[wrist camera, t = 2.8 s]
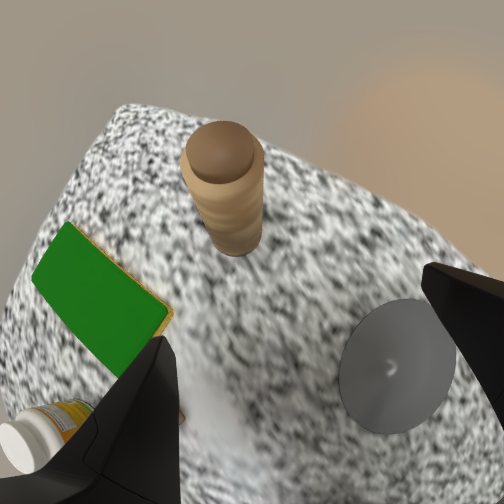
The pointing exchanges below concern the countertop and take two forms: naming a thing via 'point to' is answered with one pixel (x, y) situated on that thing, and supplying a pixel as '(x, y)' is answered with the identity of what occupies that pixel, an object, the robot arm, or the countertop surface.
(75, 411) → the supplement bottle
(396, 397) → the slate coaster
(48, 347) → the countertop surface
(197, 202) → the brown cylinder
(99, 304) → the dish sponge
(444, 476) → the countertop surface
